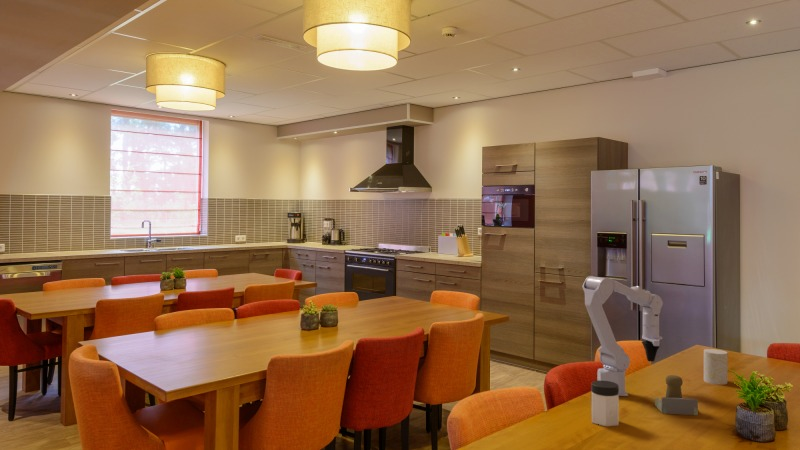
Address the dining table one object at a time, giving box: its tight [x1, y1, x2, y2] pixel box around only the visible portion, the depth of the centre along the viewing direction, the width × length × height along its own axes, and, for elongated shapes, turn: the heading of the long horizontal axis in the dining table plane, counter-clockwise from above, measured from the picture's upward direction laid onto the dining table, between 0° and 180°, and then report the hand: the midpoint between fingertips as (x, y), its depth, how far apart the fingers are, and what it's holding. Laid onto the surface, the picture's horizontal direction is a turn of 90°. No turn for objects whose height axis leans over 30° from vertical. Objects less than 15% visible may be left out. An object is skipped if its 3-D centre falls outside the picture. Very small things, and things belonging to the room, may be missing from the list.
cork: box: [665, 374, 683, 398], centre depth 186 cm, size 6×6×11 cm
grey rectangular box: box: [654, 396, 699, 416], centre depth 184 cm, size 11×8×5 cm
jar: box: [590, 380, 620, 427], centre depth 173 cm, size 9×8×12 cm
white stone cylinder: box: [703, 348, 728, 386], centre depth 217 cm, size 8×8×12 cm
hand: (650, 360), depth 208 cm, fingers closed
